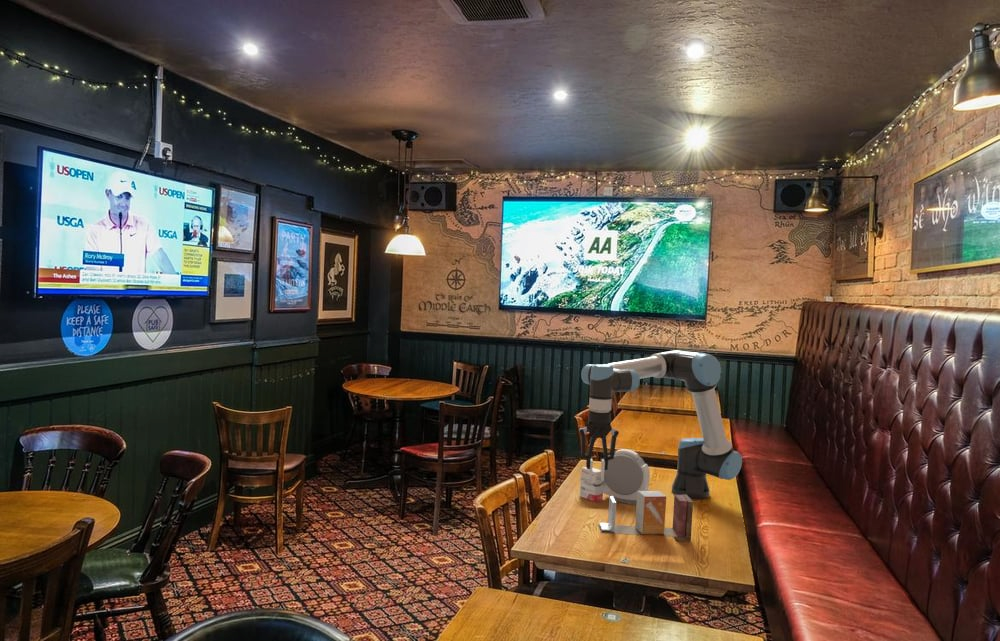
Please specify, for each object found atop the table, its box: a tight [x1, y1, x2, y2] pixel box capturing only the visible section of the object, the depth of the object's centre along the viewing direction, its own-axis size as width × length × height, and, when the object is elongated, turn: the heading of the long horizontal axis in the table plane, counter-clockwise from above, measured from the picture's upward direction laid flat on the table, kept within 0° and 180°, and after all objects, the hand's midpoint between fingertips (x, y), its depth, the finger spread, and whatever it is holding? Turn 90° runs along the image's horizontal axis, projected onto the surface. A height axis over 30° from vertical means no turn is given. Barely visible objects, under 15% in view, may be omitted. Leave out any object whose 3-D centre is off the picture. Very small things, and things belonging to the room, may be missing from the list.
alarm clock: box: [603, 448, 651, 506], centre depth 257 cm, size 18×8×20 cm, turn 63°
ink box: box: [579, 466, 604, 503], centre depth 258 cm, size 8×5×12 cm, turn 38°
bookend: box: [599, 496, 617, 532], centre depth 221 cm, size 4×7×10 cm, turn 179°
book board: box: [597, 494, 694, 543], centre depth 221 cm, size 30×8×14 cm, turn 89°
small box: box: [634, 490, 667, 534], centre depth 221 cm, size 8×6×13 cm
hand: (596, 478), depth 221 cm, fingers open, 3 cm apart
